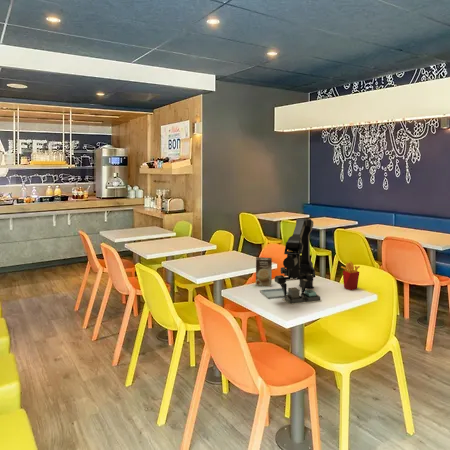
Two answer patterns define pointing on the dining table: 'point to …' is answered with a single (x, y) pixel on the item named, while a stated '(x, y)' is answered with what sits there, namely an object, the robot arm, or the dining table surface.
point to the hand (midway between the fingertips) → (293, 294)
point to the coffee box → (263, 271)
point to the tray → (273, 293)
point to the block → (293, 293)
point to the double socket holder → (303, 298)
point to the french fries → (350, 276)
